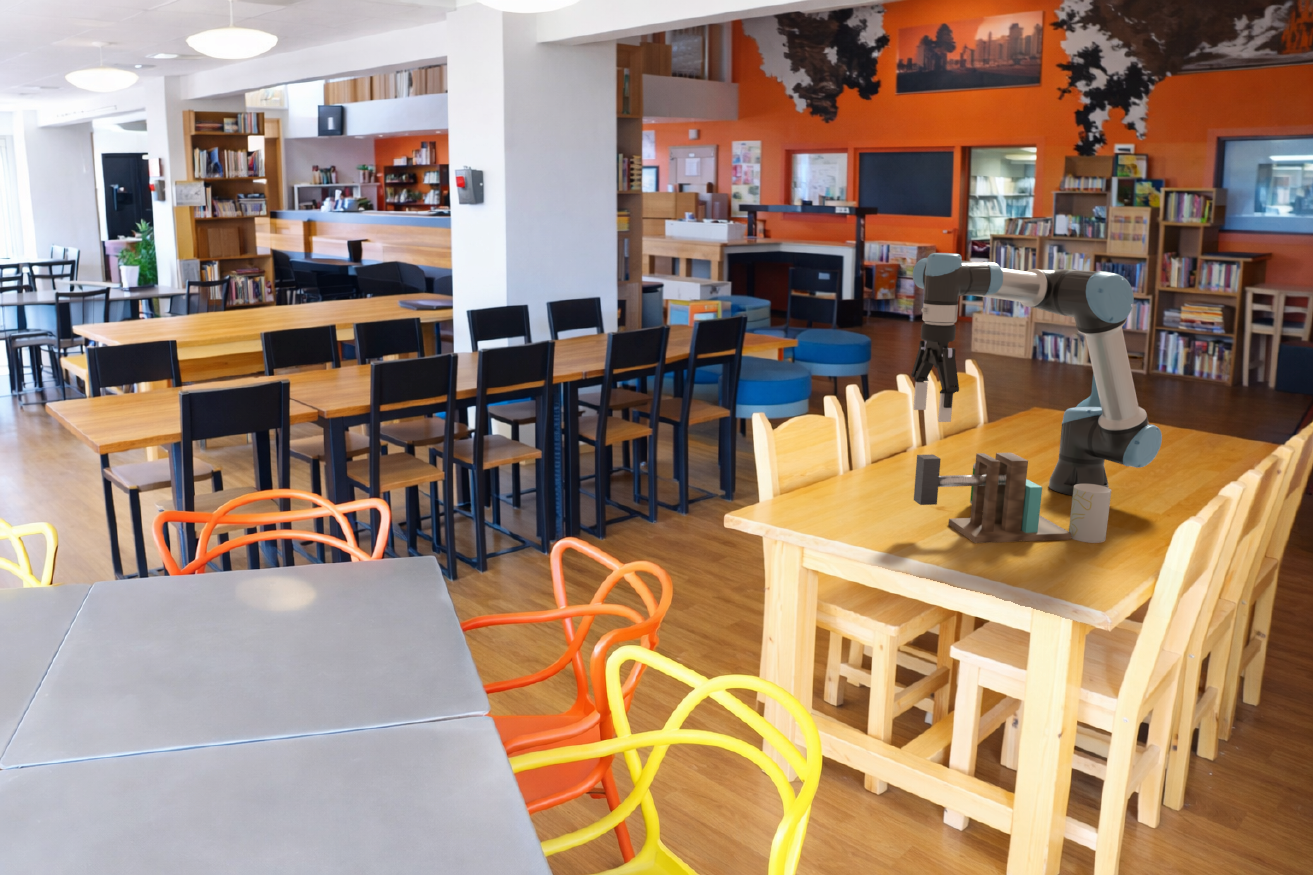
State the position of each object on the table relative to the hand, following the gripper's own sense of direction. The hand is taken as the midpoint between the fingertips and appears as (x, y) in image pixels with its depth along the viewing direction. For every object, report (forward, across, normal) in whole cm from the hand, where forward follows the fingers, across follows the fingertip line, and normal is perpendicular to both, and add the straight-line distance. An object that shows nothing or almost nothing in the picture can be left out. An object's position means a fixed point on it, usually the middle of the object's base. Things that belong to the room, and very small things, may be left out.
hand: (931, 415), depth 239 cm
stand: (+29, 0, +22) cm, 36 cm away
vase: (+29, -88, +100) cm, 136 cm away
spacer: (+27, 0, +25) cm, 37 cm away
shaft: (+21, 0, +10) cm, 23 cm away
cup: (+29, +6, +39) cm, 49 cm away
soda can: (+29, -20, +26) cm, 44 cm away
